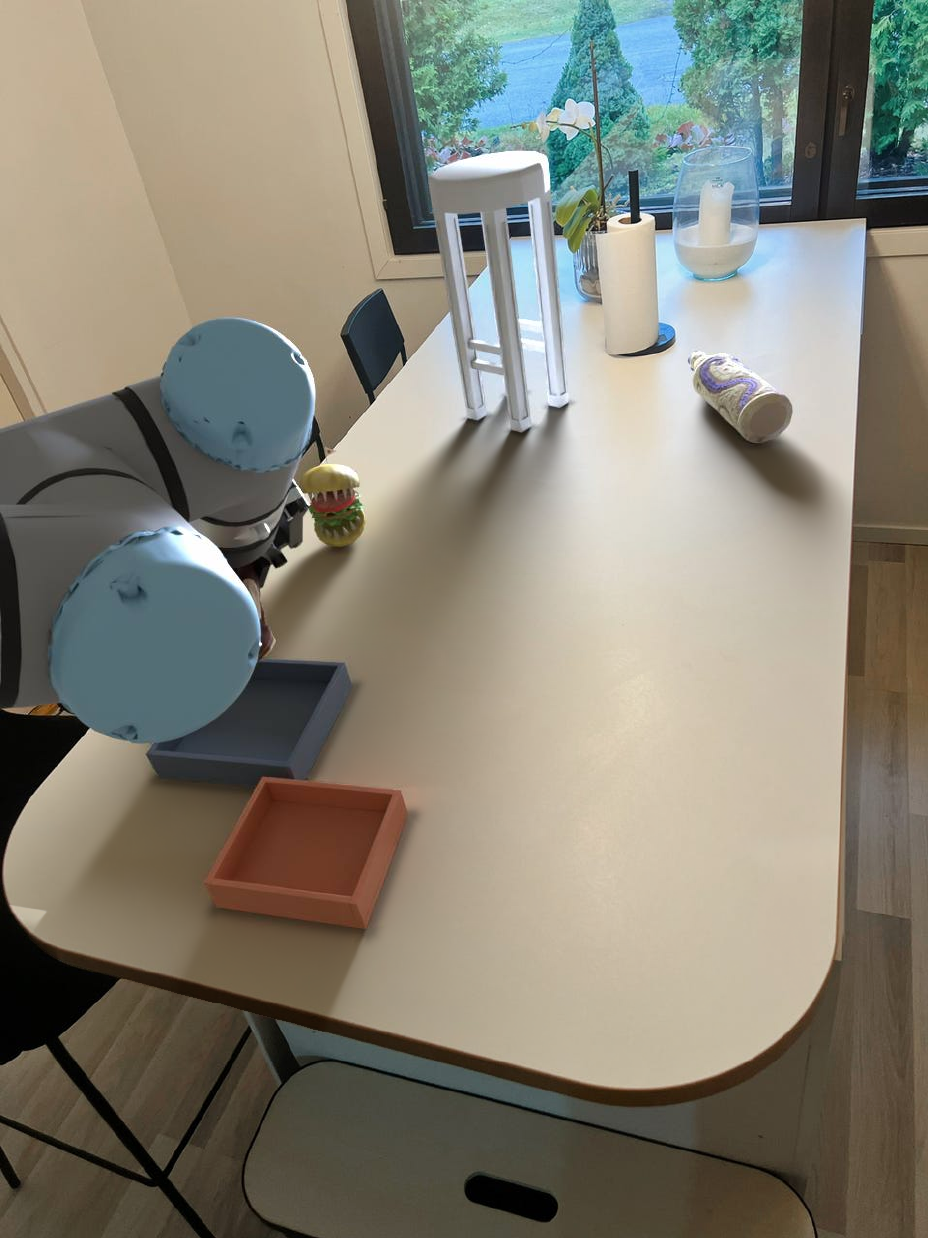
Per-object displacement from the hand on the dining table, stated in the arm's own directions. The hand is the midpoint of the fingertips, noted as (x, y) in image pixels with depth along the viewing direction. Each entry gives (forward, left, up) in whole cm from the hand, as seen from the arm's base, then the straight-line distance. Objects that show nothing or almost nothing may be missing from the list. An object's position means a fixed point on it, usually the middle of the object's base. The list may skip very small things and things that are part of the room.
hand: (209, 597), depth 77 cm
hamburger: (-5, +35, -17) cm, 39 cm away
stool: (+11, +71, -17) cm, 74 cm away
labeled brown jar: (+3, -2, -5) cm, 6 cm away
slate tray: (-1, 0, -16) cm, 16 cm away
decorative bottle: (+44, +69, -17) cm, 83 cm away
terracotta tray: (+11, -14, -16) cm, 25 cm away
